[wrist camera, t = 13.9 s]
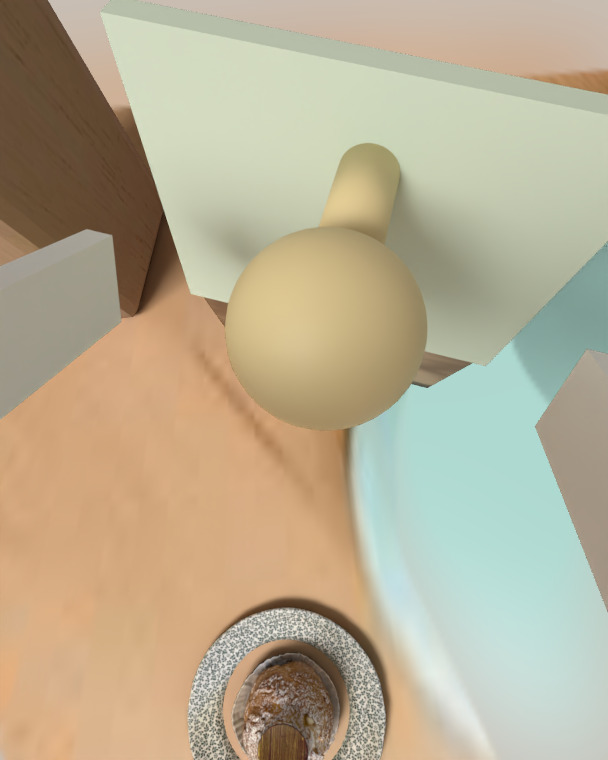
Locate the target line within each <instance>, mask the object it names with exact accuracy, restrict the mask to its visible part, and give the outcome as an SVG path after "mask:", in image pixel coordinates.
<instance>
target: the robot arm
mask: <svg viewBox="0 0 608 760" xmlns="http://www.w3.org/2000/svg"><path fill="white" fill-rule="evenodd" d="M120 322H121V313H120V304H119V294H118V285H117V275H116V266H115V256H114V247H113V237H112V235H109V234H105V233H101V232H96V231H92V230H88V229H86V230H83V231H81V232H79V233H77V234H74V235H72V236H70V237H67V238H65V239H63V240H60V241H58V242H56V243H53V244H51V245H49V246H46V247H44V248H42V249H39V250H37V251H35V252H32V253H30V254H28V255H25V256H23V257H21V258H18V259H16V260H14V261H11V262H9V263H7V264H4V265H2V266H0V419H2V418H3V417H4V416H5V415H7V414H8V413H9V412H10V411H12V410H13V409H14V408H15V407H17V406H18V405H19V404H20V403H22V402H23V401H24V400H25V399H26V398H28V397H29V396H30V395H31V394H33V393H34V392H35V391H36V390H38V389H39V388H40V387H41V386H43V385H44V384H45V383H46V382H47V381H49V380H50V379H51V378H52V377H54V376H55V375H56V374H57V373H59V372H60V371H61V370H62V369H64V368H65V367H66V366H67V365H69V364H70V363H71V362H72V361H73V360H75V359H76V358H77V357H78V356H80V355H81V354H82V353H83V352H85V351H86V350H87V349H88V348H90V347H91V346H92V345H93V344H94V343H96V342H97V341H98V340H99V339H101V338H102V337H103V336H104V335H106V334H107V333H108V332H109V331H111V330H112V329H113V328H114V327H115V326H117V325H118V324H119V323H120ZM535 428H536V430H537V433H538V435H539V438H540V440H541V443H542V445H543V448H544V451H545V453H546V456H547V458H548V460H549V463H550V466H551V468H552V471H553V473H554V476H555V478H556V481H557V484H558V486H559V489H560V491H561V494H562V496H563V499H564V501H565V504H566V507H567V509H568V512H569V514H570V517H571V519H572V522H573V524H574V527H575V530H576V532H577V535H578V537H579V540H580V542H581V545H582V547H583V550H584V552H585V555H586V558H587V560H588V563H589V565H590V568H591V570H592V573H593V575H594V578H595V581H596V583H597V586H598V588H599V591H600V593H601V596H602V599H603V601H604V603H605V606H606V609H607V611H608V354H606V353H602V352H598V351H594V350H590V349H587V350H586V351H585V353H584V354H583V355H582V357H581V358H580V360H579V361H578V363H577V364H576V366H575V367H574V369H573V370H572V372H571V373H570V375H569V376H568V378H567V379H566V381H565V382H564V384H563V385H562V387H561V388H560V390H559V391H558V393H557V394H556V396H555V397H554V399H553V400H552V402H551V403H550V405H549V406H548V408H547V409H546V411H545V412H544V414H543V415H542V417H541V418H540V420H539V421H538V423H537V424H536V426H535Z"/></svg>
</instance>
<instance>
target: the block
mask: <svg viewBox="0 0 608 760" xmlns="http://www.w3.org/2000/svg"><path fill="white" fill-rule="evenodd" d="M163 210H164V209H163V206H162V203H161V200H160V197H159V194H158V191H157V187H156V184H155V182H154V180H153V178H152V177H151V175H150V173H149V171H148V170H147V168H146V166H145V165H144V163H143V161H142V160H141V158H140V156H139V154H138V153H137V151H136V149H135V148H134V146H133V144H132V143H131V141H130V139H129V137H128V136H127V134H126V132H125V131H124V129H123V127H122V126H121V124H120V122H119V120H118V119H117V117H116V115H115V114H114V112H113V110H112V109H111V107H110V105H109V103H108V102H107V100H106V98H105V97H104V95H103V93H102V92H101V90H100V88H99V86H98V85H97V83H96V81H95V80H94V78H93V76H92V75H91V73H90V71H89V70H88V68H87V66H86V64H85V63H84V61H83V59H82V58H81V56H80V54H79V53H78V51H77V49H76V47H75V46H74V44H73V43H72V41H71V39H70V37H69V36H68V34H67V32H66V30H65V29H64V27H63V26H62V24H61V22H60V20H59V19H58V17H57V15H56V13H55V12H54V10H53V8H52V7H51V5H50V3H49V2H48V0H0V266H2V265H4V264H7V263H9V262H11V261H14V260H16V259H18V258H21V257H23V256H25V255H28V254H30V253H32V252H35V251H37V250H39V249H42V248H44V247H46V246H49V245H51V244H53V243H56V242H58V241H60V240H63V239H65V238H67V237H70V236H72V235H74V234H77V233H79V232H81V231H83V230H86V229H88V230H92V231H96V232H101V233H105V234H109V235H112V237H113V247H114V256H115V266H116V275H117V285H118V294H119V304H120V313H121V318H127V317H133V316H134V315H135V313H136V312H137V310H138V306H139V302H140V299H141V295H142V291H143V287H144V283H145V279H146V275H147V271H148V268H149V264H150V260H151V256H152V252H153V248H154V244H155V241H156V237H157V233H158V229H159V225H160V221H161V217H162V213H163Z"/></svg>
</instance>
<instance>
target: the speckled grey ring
mask: <svg viewBox="0 0 608 760" xmlns="http://www.w3.org/2000/svg"><path fill="white" fill-rule="evenodd" d="M285 639H289V640H297V641H301V642H304V643H307V644H309V645H311V646H314V647H315V648H317V649H318V650H320V651H322V652H323V653H324V654H325V655H326V656H327V657H328V658H329V659H330V660H331V661H332V662H333V663H334V665H335V666H336V667H337V669H338V670H339V672H340V674H341V676H342V678H343V680H344V682H345V685H346V688H347V692H348V695H349V704H350V718H349V725H348V730H347V733H346V736H345V739H344V741H343V743H342V746H341V748H340V749H339V751H338V752H337V754H336V755H335V757H334V758H333V759H332V760H380V757H381V754H382V748H383V742H384V734H385V728H386V727H385V726H386V712H385V705H384V700H383V694H382V688H381V684H380V680H379V678H378V676H377V673H376V671H375V668H374V666H373V664H372V662H371V661H370V659H369V657H368V656H367V654H366V653H365V651H364V650H363V648H362V647H361V646H360V645H359V643H358V642H357V641H356V640H355V639H354V638H353V637H352V636H351V635H350V634H349V633H348V632H347V631H345V630H344V629H343V628H342V627H341V626H339V625H338V624H336V623H335V622H333V621H332V620H330V619H328V618H326V617H323V616H321V615H319V614H317V613H315V612H311V611H307V610H305V609H300V608H292V607H290V608H286V607H284V608H276V609H269V610H265V611H262V612H258V613H256V614H253V615H250V616H248V617H246V618H243V619H242V620H240V621H239V622H237V623H236V624H234V625H233V626H231V627H230V628H229V629H228V630H227V631H226V632H224V633H223V634H222V635H221V636H220V637H219V638H218V639H217V640H216V641H215V642H214V643H213V644H212V646H211V647H210V648H209V650H208V651H207V653H206V654H205V656H204V657H203V659H202V661H201V663H200V665H199V667H198V669H197V672H196V675H195V677H194V680H193V682H192V683H193V684H192V689H191V693H190V699H189V705H188V732H189V741H190V748H191V751H192V755H193V759H194V760H240V758H239V757H238V756H237V754H236V753H235V751H234V749H233V748H232V746H231V744H230V742H229V739H228V737H227V734H226V730H225V726H224V719H223V702H224V695H225V690H226V687H227V684H228V681H229V679H230V676H231V675H232V673H233V671H234V669H235V668H236V666H237V665H238V664H239V662H240V661H241V660H242V659H243V658H244V657H245V656H246V655H247V654H248V653H250V652H251V651H252V650H254V649H255V648H257V647H258V646H260V645H263V644H265V643H268V642H271V641H275V640H285ZM289 660H292V662H289V663H287V662H286V661H289ZM339 712H340V705H339V699H338V695H337V691H336V689H335V686H334V684H333V683H332V681H331V679H330V677H329V675H327V674H326V673H325V671H324V670H323V669H321V668H320V667H319V665H318V664H316V663H315V662H314V661H313V660H311V659H310V658H308V657H307V656H304V655H303V654H301V653H298V654H296V653H291V654H290V653H285V654H284V655H281V654H280V655H279V656H274V657H272V658H270V659H267V660H266V661H264V662H263V663H261V664H259V666H258V667H257V668H256V669H255V670H254V672H253V673H252V674H250V675H249V676H248V678H247V679H246V681H245V682H244V684H243V686H242V687H241V689H240V691H239V693H238V695H237V699H236V700H235V703H234V706H233V709H232V724H233V729H234V732H235V735H236V738H237V740H238V743H239V744H240V746H241V748H242V750H243V751H244V752H245V754H246V755H247V756H248V757H249V759H250V760H323V759H324V755H323V754H324V753H327V750H328V749H329V747H330V745H331V744H330V743H333V741H334V735H335V733H336V732H337V728H338V726H339Z"/></svg>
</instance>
